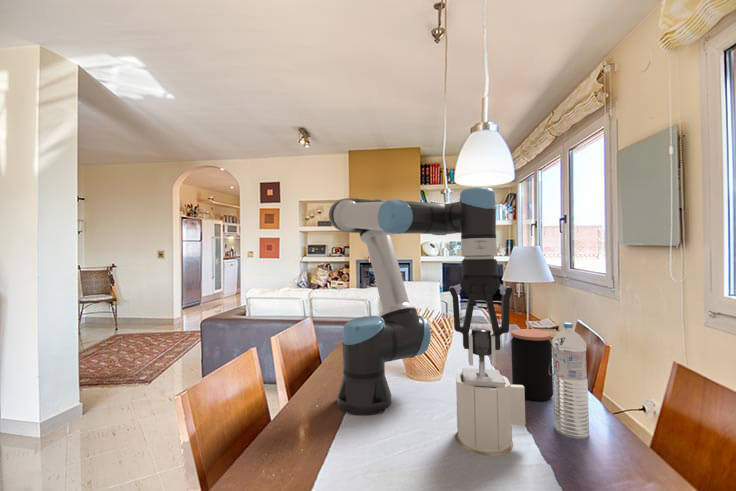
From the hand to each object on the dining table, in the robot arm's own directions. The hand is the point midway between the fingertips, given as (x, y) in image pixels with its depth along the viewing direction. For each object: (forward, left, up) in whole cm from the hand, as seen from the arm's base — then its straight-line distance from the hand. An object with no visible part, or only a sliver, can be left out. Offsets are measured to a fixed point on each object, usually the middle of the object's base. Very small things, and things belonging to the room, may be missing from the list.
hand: (481, 363), depth 75 cm
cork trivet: (0, 0, -17) cm, 17 cm away
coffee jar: (+17, +28, -17) cm, 37 cm away
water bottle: (+20, +7, -17) cm, 27 cm away
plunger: (0, 0, -15) cm, 15 cm away
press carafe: (+2, 0, -16) cm, 17 cm away
